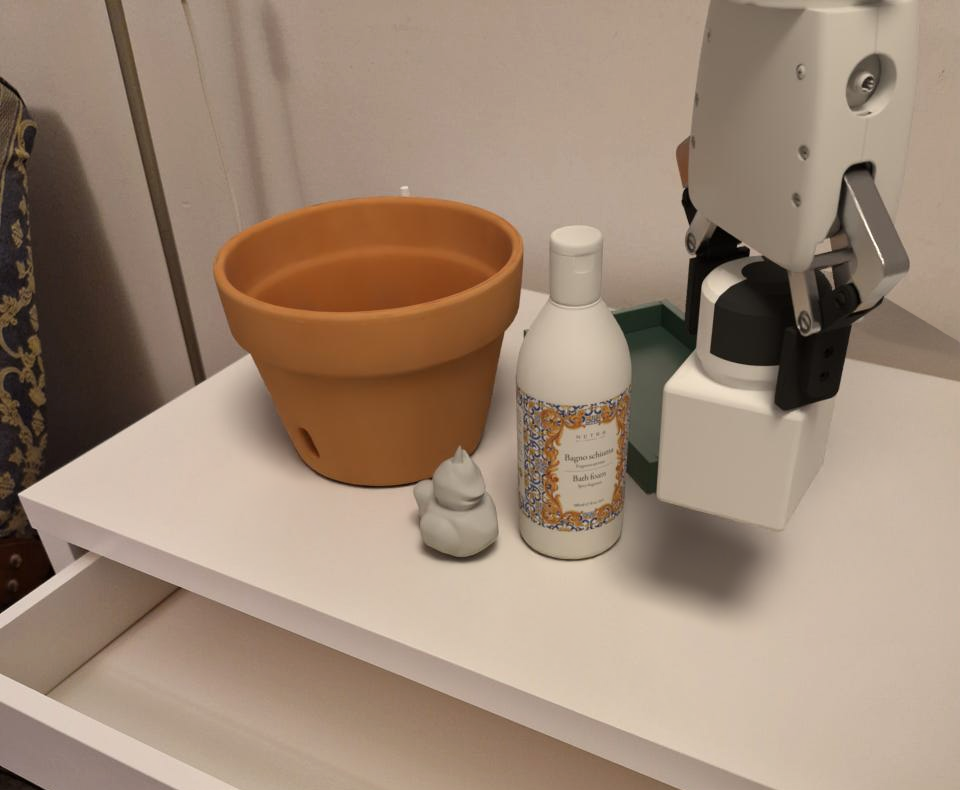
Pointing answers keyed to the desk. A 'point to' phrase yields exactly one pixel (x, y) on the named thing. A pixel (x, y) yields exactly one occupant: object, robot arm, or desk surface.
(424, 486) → the rubber duck
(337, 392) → the flower pot
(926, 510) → the desk surface
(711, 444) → the medicine bottle
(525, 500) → the bath foam
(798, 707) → the desk surface
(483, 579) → the desk surface
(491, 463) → the desk surface
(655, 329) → the tray
